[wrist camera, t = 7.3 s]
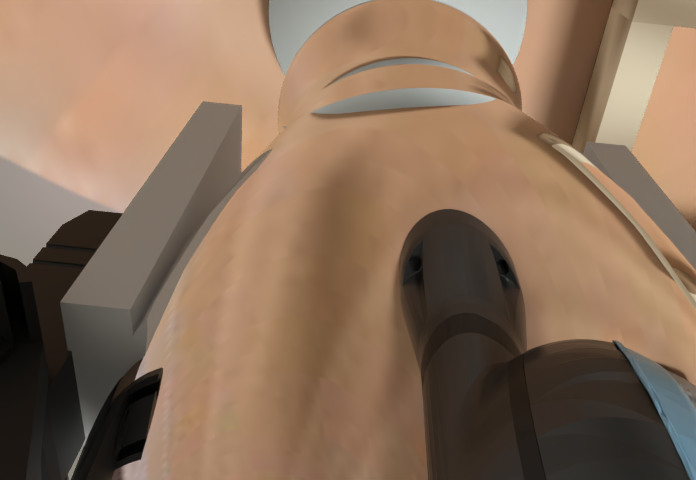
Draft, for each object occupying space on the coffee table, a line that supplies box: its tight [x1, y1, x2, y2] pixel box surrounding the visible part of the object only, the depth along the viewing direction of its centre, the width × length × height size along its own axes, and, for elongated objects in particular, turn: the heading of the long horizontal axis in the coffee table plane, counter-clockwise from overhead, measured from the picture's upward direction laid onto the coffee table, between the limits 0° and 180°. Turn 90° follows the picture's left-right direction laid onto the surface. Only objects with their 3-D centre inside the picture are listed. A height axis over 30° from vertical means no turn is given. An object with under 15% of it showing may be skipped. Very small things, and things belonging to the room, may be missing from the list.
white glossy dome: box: [269, 0, 527, 75], centre depth 26 cm, size 10×10×1 cm
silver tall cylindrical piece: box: [71, 0, 696, 480], centre depth 10 cm, size 7×7×15 cm
